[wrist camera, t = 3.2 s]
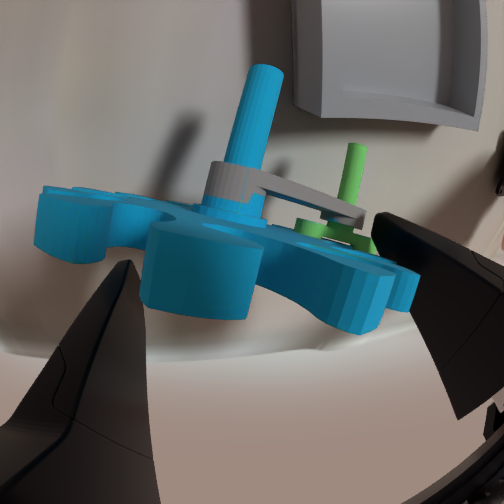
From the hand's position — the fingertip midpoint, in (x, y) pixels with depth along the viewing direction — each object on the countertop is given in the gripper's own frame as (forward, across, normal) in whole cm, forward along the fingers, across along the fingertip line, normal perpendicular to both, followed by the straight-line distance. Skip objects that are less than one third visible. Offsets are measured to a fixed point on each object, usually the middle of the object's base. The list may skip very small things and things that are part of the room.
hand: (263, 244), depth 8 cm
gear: (+5, +2, 0) cm, 6 cm away
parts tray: (+5, -8, -10) cm, 14 cm away
